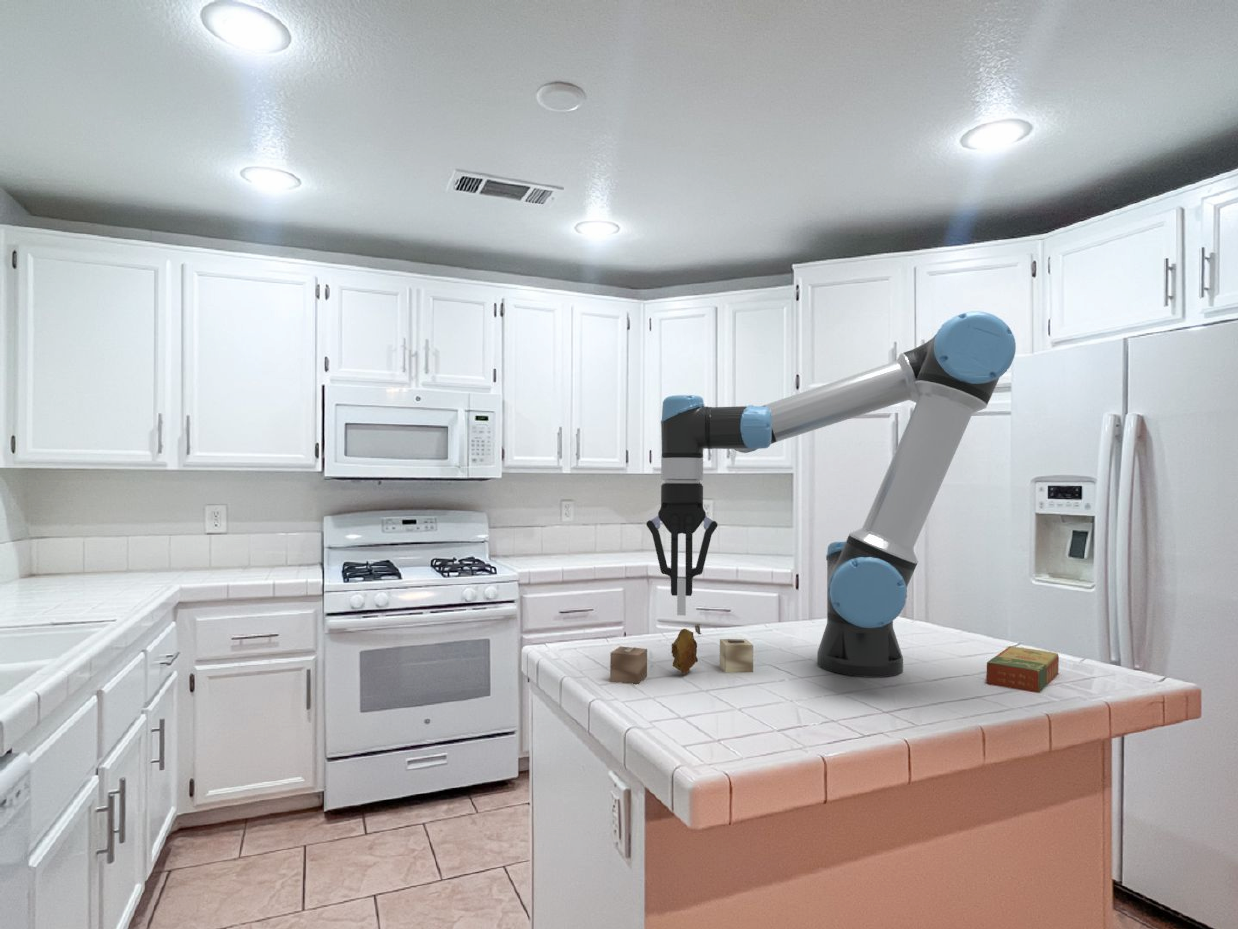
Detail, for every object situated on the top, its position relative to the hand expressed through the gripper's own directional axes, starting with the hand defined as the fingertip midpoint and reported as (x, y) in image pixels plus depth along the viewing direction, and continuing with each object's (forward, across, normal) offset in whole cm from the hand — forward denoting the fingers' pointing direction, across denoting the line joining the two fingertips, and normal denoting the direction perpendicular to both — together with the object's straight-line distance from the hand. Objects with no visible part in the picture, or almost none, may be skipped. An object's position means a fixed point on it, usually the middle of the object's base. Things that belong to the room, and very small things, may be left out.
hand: (681, 613), depth 131 cm
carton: (+11, -60, -3) cm, 61 cm away
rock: (+11, -1, -1) cm, 11 cm away
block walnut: (+11, +9, +5) cm, 15 cm away
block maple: (+11, -10, -4) cm, 15 cm away
